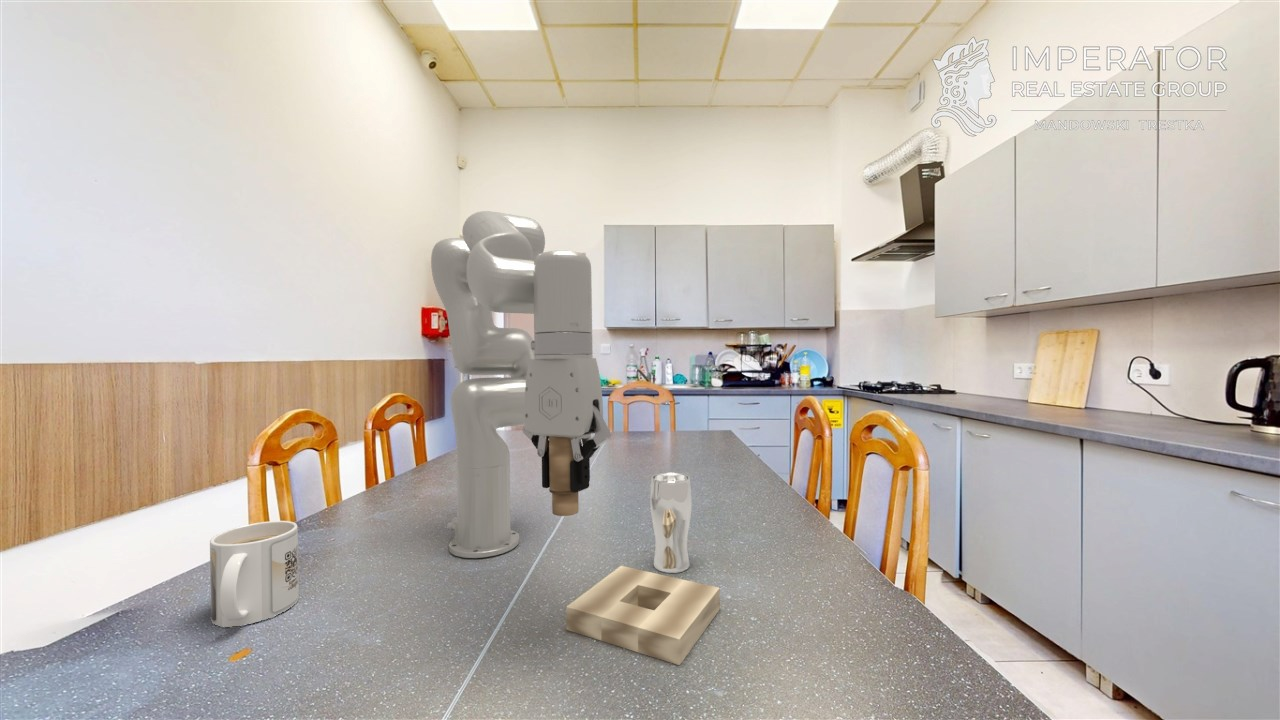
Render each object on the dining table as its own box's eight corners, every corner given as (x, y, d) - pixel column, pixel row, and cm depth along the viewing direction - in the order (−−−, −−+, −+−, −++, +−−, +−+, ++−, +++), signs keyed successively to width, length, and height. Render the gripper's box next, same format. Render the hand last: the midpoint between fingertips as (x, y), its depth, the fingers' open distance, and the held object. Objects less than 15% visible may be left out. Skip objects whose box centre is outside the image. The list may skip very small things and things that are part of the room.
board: (566, 629, 63) (566, 606, 63) (621, 584, 76) (620, 565, 76) (679, 665, 56) (679, 639, 56) (719, 609, 68) (719, 587, 68)
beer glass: (689, 576, 79) (689, 483, 79) (647, 572, 80) (646, 481, 80) (693, 558, 85) (693, 473, 85) (654, 555, 87) (653, 471, 87)
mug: (318, 599, 72) (317, 524, 72) (226, 644, 61) (225, 556, 61) (268, 588, 76) (267, 517, 76) (173, 629, 64) (172, 546, 64)
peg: (543, 513, 63) (541, 421, 63) (563, 505, 67) (561, 417, 67) (568, 518, 61) (566, 422, 61) (587, 509, 65) (586, 419, 65)
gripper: (496, 349, 65) (498, 487, 65) (599, 345, 57) (602, 504, 56) (535, 349, 71) (536, 475, 71) (633, 346, 63) (635, 488, 63)
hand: (565, 486), depth 64 cm, fingers closed on peg, 4 cm apart
